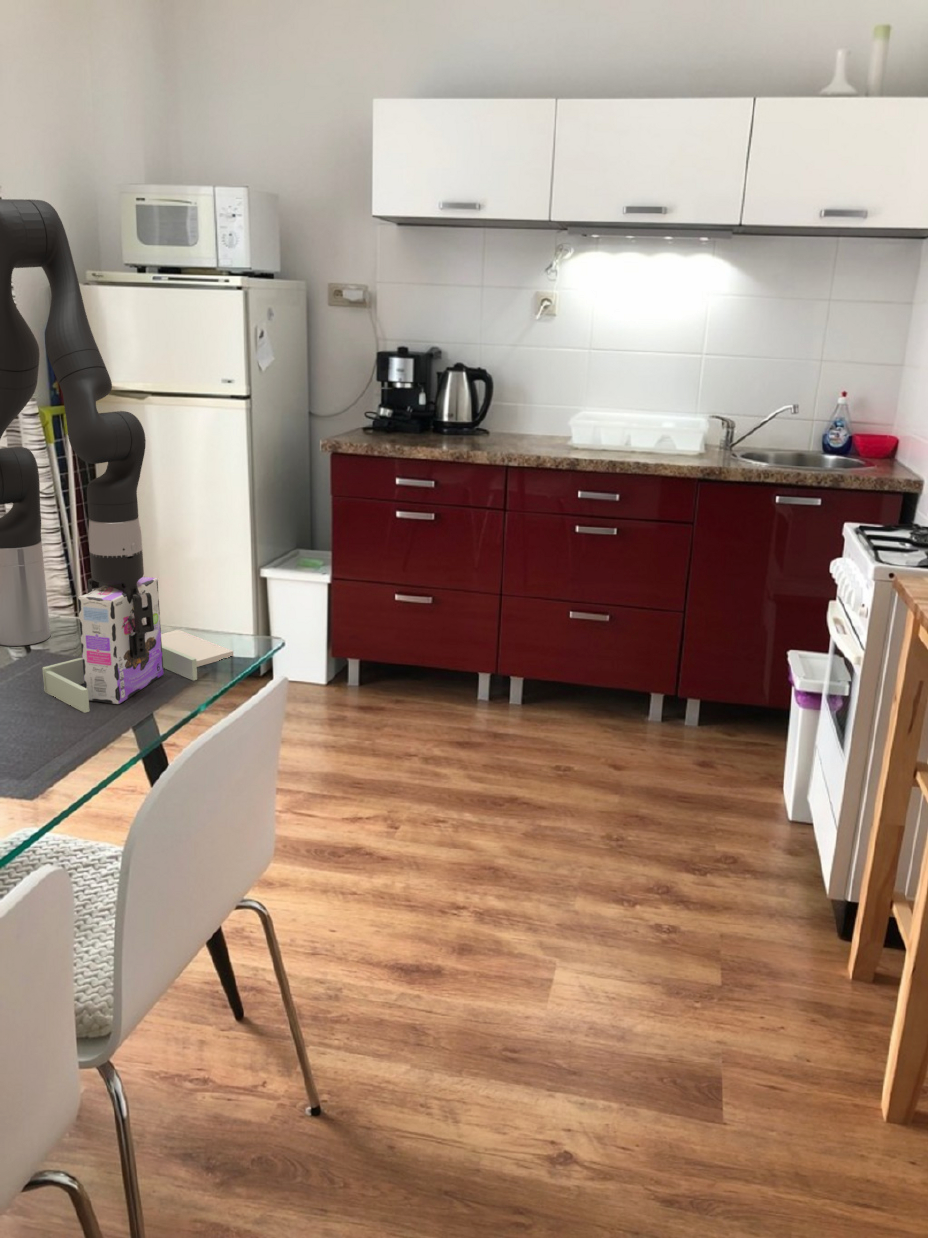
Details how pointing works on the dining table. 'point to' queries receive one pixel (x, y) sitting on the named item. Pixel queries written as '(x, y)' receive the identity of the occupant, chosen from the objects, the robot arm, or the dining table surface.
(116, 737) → the dining table surface
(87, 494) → the robot arm
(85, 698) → the green u-shaped frame
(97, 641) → the candy box
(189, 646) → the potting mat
